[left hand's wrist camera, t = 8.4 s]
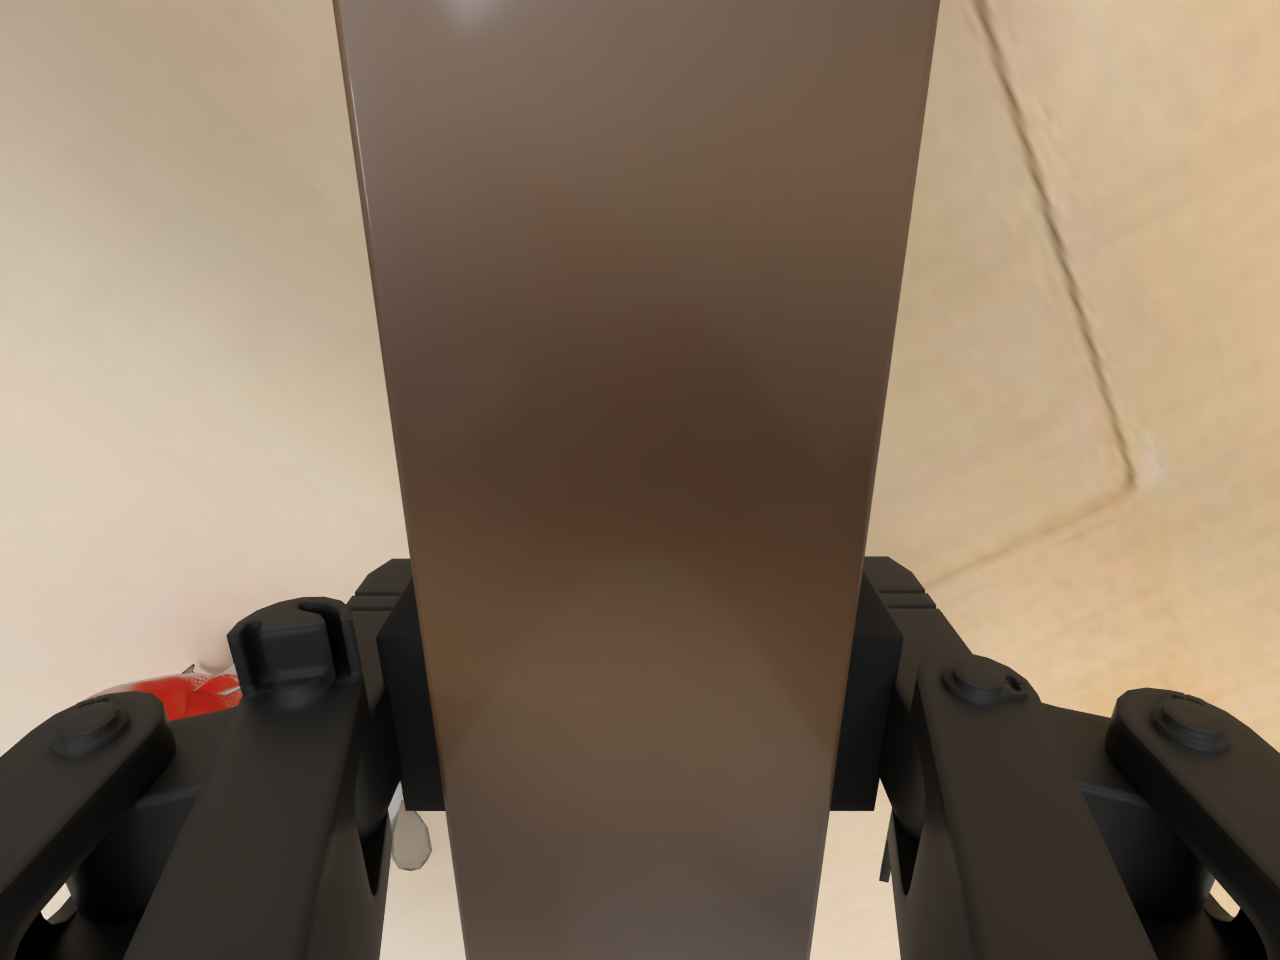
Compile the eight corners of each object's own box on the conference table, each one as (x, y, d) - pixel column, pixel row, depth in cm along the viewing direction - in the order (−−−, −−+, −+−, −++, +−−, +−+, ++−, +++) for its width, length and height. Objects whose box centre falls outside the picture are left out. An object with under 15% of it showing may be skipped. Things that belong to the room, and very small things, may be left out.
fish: (284, 575, 24) (120, 901, 18) (516, 722, 35) (461, 955, 29) (104, 598, 28) (-75, 868, 23) (361, 723, 39) (286, 927, 34)
